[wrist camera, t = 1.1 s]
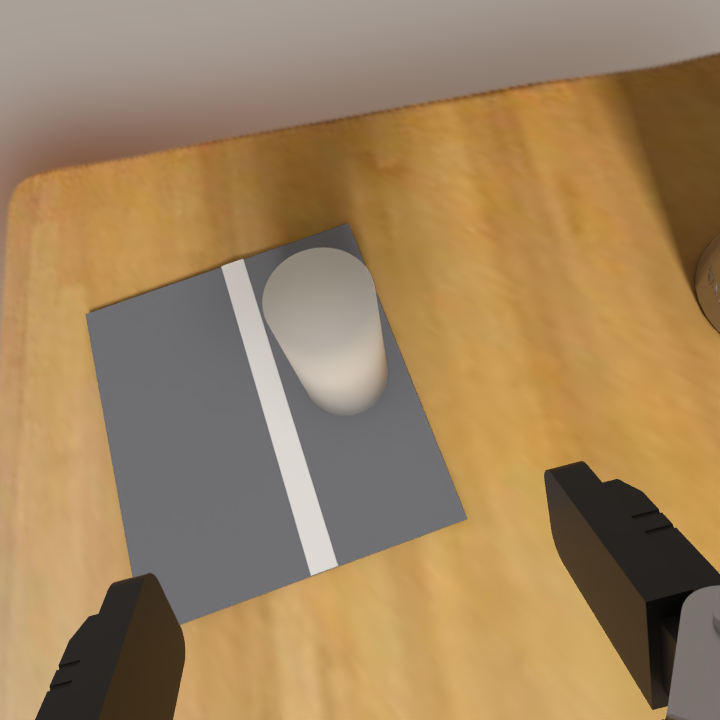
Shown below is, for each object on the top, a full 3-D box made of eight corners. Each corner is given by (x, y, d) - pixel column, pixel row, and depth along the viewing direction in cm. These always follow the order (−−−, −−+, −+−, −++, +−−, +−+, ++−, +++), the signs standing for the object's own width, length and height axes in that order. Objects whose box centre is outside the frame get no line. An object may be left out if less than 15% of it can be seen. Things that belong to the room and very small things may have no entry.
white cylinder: (371, 324, 36) (354, 232, 27) (400, 398, 34) (391, 326, 25) (293, 352, 36) (249, 269, 27) (318, 427, 34) (279, 366, 25)
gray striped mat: (349, 227, 40) (348, 222, 39) (466, 519, 32) (467, 518, 32) (89, 317, 39) (84, 313, 38) (147, 636, 32) (142, 637, 31)
